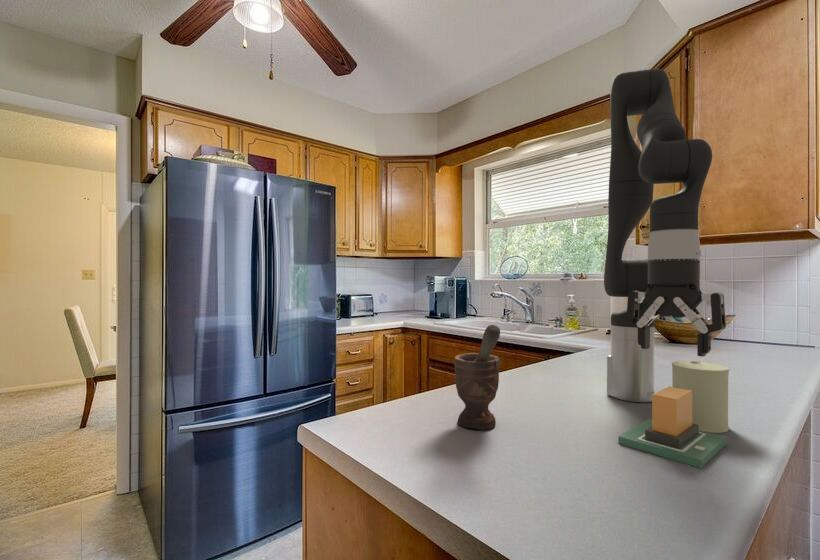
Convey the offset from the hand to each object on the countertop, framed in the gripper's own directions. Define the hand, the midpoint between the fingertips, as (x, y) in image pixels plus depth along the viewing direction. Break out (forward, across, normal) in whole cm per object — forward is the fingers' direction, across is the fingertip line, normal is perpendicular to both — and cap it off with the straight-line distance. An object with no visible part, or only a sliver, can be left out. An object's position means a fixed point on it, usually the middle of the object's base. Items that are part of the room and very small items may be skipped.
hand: (672, 352), depth 70 cm
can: (+16, 0, +15) cm, 22 cm away
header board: (+16, 0, 0) cm, 16 cm away
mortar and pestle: (+16, -26, -19) cm, 36 cm away
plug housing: (+13, 0, 0) cm, 13 cm away
